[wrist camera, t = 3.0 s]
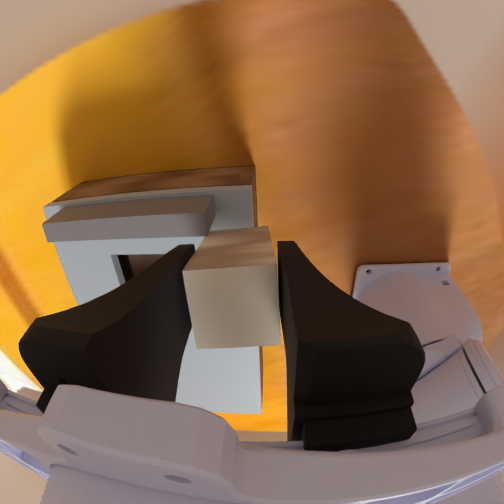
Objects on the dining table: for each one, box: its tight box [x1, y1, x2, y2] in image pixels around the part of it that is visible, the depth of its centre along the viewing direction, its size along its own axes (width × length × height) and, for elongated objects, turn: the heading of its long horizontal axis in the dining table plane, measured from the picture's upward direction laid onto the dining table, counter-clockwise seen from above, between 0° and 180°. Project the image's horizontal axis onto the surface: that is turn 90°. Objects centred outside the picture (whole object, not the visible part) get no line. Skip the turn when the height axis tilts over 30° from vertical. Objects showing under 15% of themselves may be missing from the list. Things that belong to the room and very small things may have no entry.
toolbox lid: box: [42, 185, 262, 414], centre depth 20 cm, size 14×22×3 cm, turn 3°
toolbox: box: [52, 166, 263, 397], centre depth 24 cm, size 14×22×4 cm, turn 3°
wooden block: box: [182, 226, 281, 349], centre depth 13 cm, size 3×3×6 cm
